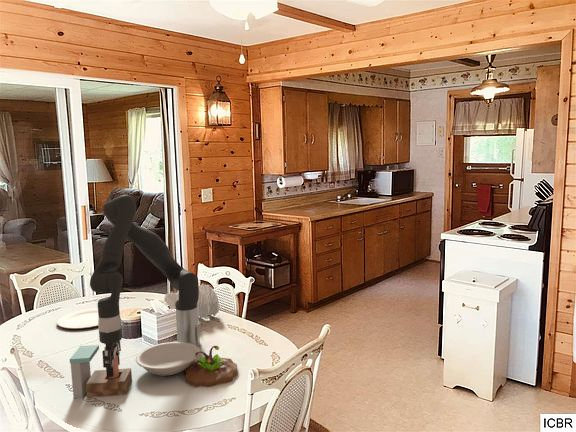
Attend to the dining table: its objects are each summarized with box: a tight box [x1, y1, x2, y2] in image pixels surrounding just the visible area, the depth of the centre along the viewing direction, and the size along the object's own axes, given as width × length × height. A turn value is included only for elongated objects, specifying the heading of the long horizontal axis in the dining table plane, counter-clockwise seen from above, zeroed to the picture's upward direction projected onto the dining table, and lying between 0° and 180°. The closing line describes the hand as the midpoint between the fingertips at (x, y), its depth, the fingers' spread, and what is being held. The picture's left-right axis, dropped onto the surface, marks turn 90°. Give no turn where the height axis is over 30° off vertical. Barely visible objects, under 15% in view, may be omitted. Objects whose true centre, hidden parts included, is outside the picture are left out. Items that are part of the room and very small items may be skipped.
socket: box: [86, 367, 133, 398], centre depth 168 cm, size 13×10×5 cm
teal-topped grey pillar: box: [69, 344, 100, 399], centre depth 167 cm, size 6×11×14 cm, turn 6°
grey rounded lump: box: [163, 282, 221, 320], centre depth 235 cm, size 18×18×25 cm
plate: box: [56, 307, 99, 330], centre depth 239 cm, size 29×29×2 cm
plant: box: [184, 345, 238, 388], centre depth 178 cm, size 20×20×11 cm
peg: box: [108, 355, 120, 379], centre depth 168 cm, size 4×4×12 cm
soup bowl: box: [135, 341, 201, 376], centre depth 182 cm, size 24×24×7 cm
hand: (113, 370), depth 168 cm, fingers open, 8 cm apart
